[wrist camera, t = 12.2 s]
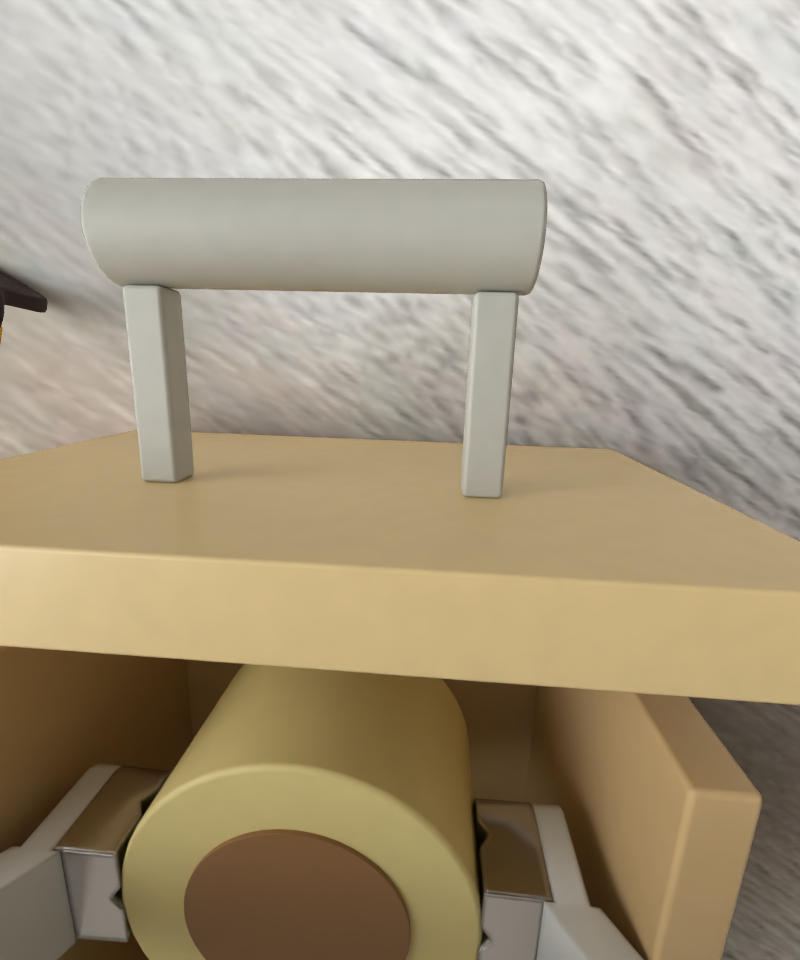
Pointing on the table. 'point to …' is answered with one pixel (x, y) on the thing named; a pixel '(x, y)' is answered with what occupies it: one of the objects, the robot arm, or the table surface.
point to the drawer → (390, 557)
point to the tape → (313, 826)
